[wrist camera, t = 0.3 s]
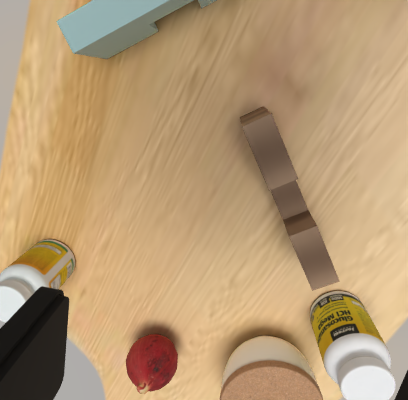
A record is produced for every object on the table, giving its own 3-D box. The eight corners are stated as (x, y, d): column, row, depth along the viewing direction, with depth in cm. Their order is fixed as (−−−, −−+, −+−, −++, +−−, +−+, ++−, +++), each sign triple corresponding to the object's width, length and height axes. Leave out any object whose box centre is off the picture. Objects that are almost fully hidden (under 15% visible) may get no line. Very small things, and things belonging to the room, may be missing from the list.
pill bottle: (335, 278, 41) (370, 345, 31) (374, 310, 42) (421, 385, 32) (297, 314, 43) (317, 388, 33) (335, 343, 44) (367, 425, 34)
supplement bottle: (84, 270, 44) (45, 320, 35) (46, 284, 45) (-2, 336, 36) (62, 231, 42) (15, 272, 33) (23, 246, 43) (-33, 290, 34)
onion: (157, 311, 45) (141, 359, 37) (191, 341, 46) (182, 393, 38) (126, 338, 46) (105, 389, 39) (159, 366, 47) (145, 421, 40)
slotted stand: (240, 117, 37) (241, 126, 29) (263, 106, 36) (271, 113, 29) (297, 251, 41) (312, 290, 33) (319, 243, 40) (339, 281, 33)
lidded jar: (270, 303, 43) (279, 361, 34) (327, 360, 45) (350, 429, 36) (204, 351, 46) (196, 416, 37) (260, 403, 48) (267, 478, 39)
